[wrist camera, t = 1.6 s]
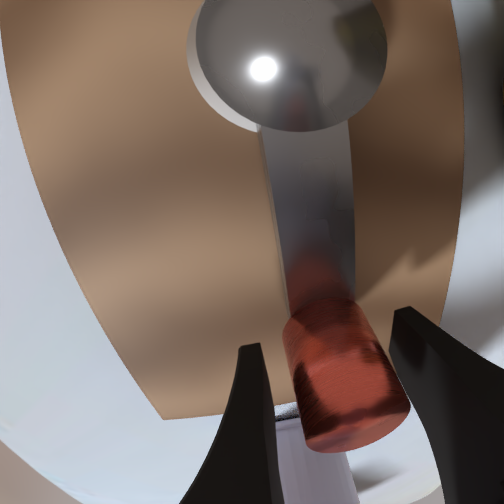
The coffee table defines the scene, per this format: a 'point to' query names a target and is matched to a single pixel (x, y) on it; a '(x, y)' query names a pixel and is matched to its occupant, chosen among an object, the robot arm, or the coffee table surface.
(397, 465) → the coffee table surface
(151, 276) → the board
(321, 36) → the lever
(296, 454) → the robot arm
